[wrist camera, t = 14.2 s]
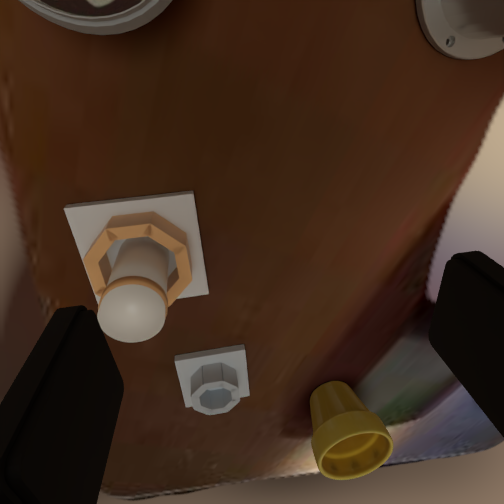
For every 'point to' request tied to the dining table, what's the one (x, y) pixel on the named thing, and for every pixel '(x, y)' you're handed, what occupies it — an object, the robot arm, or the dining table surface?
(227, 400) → the narrow socket
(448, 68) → the dining table surface
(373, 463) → the plant pot
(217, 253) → the dining table surface
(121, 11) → the food container
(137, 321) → the beige peg
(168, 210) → the wide socket
